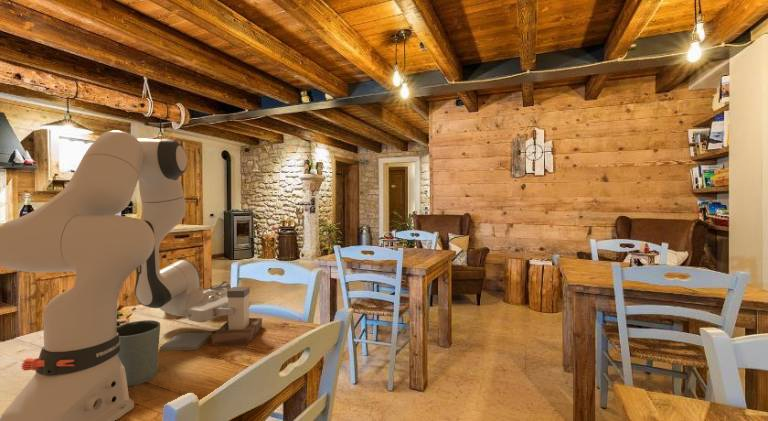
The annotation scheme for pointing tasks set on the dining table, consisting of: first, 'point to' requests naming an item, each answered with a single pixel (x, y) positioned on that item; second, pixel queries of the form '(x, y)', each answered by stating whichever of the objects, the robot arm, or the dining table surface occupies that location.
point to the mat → (186, 341)
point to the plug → (238, 307)
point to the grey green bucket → (139, 350)
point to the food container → (220, 286)
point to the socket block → (237, 333)
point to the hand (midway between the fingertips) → (241, 308)
